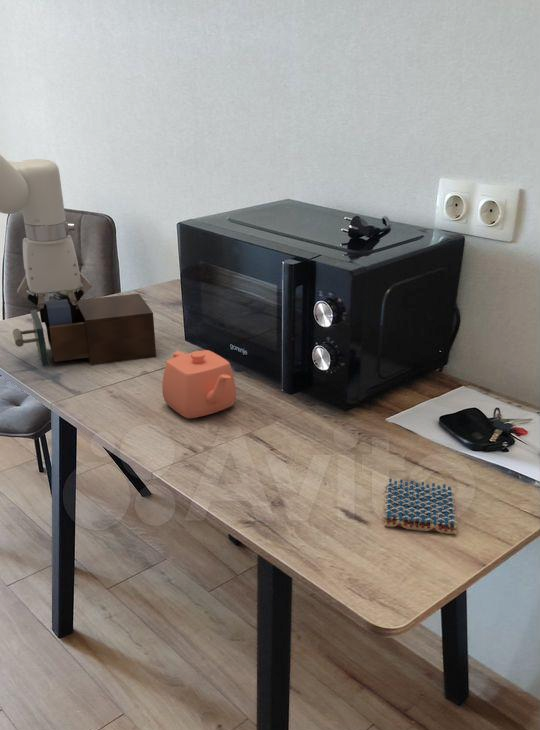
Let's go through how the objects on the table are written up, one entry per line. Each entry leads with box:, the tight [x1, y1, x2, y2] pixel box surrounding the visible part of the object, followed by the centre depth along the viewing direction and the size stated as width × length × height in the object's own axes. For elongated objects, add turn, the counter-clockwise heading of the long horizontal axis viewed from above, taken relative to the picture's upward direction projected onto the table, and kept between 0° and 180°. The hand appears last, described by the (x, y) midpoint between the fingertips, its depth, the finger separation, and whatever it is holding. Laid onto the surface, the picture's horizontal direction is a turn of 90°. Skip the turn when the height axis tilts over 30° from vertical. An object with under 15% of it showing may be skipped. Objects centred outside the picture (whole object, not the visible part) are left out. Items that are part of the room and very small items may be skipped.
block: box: [45, 299, 72, 326], centre depth 142 cm, size 4×4×4 cm
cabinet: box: [76, 293, 157, 366], centre depth 148 cm, size 14×13×10 cm
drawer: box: [12, 307, 89, 367], centre depth 144 cm, size 17×11×8 cm
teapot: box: [161, 349, 237, 419], centre depth 126 cm, size 12×18×10 cm, turn 37°
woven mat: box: [382, 478, 459, 536], centre depth 102 cm, size 10×11×2 cm
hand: (59, 323), depth 143 cm, fingers closed on block, 4 cm apart
